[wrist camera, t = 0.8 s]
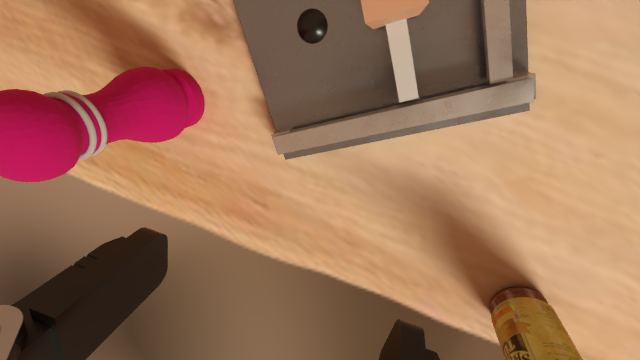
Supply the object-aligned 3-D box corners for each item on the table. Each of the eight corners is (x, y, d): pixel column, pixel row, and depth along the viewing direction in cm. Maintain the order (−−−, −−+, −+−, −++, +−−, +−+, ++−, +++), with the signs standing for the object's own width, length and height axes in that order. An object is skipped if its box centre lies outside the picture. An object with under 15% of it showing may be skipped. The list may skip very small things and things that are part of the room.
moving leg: (411, -36, 23) (418, -75, 16) (429, 92, 27) (443, 112, 19) (365, -19, 24) (351, -48, 17) (388, 102, 28) (385, 124, 20)
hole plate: (515, -114, 22) (536, -142, 18) (524, 107, 27) (541, 116, 24) (237, -3, 29) (217, -9, 25) (288, 156, 34) (277, 167, 31)
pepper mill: (160, 130, 36) (-65, 212, 19) (143, 65, 34) (-142, 90, 16) (215, 130, 35) (25, 220, 17) (201, 62, 32) (-43, 85, 14)
